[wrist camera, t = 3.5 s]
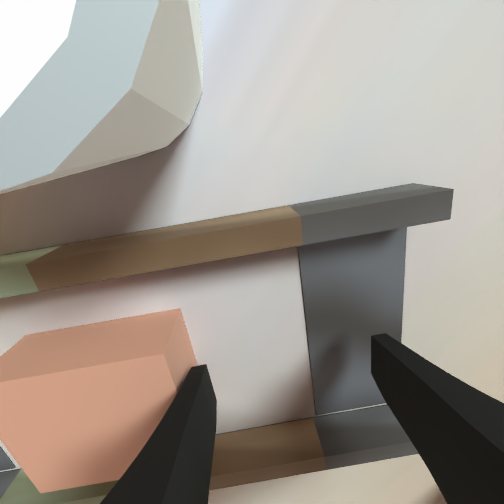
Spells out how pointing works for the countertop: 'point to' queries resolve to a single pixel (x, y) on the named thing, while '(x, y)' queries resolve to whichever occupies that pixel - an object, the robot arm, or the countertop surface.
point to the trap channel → (316, 312)
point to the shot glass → (93, 83)
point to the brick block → (90, 396)
